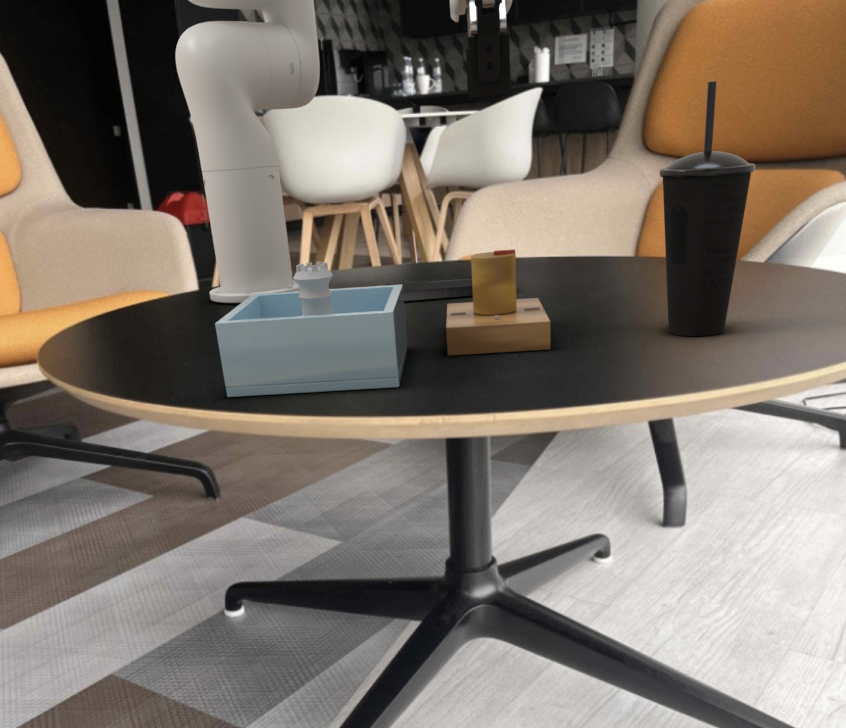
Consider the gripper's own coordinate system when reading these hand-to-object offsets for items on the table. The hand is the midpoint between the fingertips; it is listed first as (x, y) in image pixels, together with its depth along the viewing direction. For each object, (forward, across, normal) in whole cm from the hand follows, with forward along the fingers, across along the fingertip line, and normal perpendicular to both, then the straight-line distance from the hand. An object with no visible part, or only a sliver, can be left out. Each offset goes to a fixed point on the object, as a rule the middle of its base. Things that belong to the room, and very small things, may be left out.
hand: (487, 96), depth 73 cm
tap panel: (+20, 0, 0) cm, 20 cm away
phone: (+20, -28, -5) cm, 35 cm away
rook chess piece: (+20, +9, -15) cm, 26 cm away
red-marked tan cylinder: (+18, 0, 0) cm, 18 cm away
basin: (+20, +9, -15) cm, 27 cm away
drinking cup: (+20, +2, +18) cm, 27 cm away
